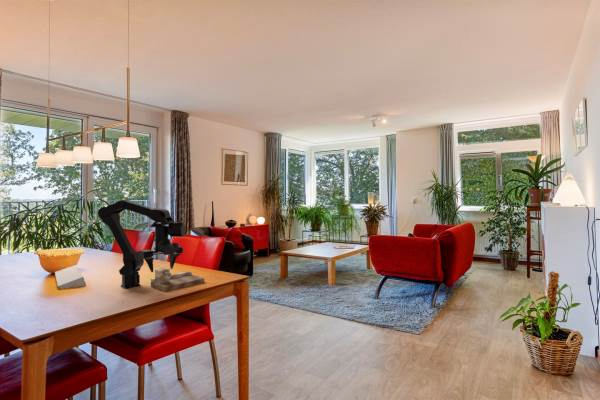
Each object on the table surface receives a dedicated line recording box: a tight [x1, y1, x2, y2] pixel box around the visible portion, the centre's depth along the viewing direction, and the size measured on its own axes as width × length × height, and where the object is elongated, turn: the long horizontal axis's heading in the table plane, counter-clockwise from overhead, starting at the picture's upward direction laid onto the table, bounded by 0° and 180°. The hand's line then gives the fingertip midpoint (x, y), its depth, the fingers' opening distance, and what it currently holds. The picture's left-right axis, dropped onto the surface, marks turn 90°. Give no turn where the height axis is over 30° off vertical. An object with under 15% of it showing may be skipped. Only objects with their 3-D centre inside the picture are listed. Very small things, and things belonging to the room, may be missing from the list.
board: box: [150, 270, 205, 293], centre depth 158 cm, size 20×13×4 cm, turn 139°
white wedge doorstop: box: [54, 264, 87, 290], centre depth 167 cm, size 34×5×10 cm
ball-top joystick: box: [154, 267, 172, 284], centre depth 153 cm, size 5×9×6 cm, turn 49°
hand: (162, 270), depth 154 cm, fingers open, 9 cm apart
